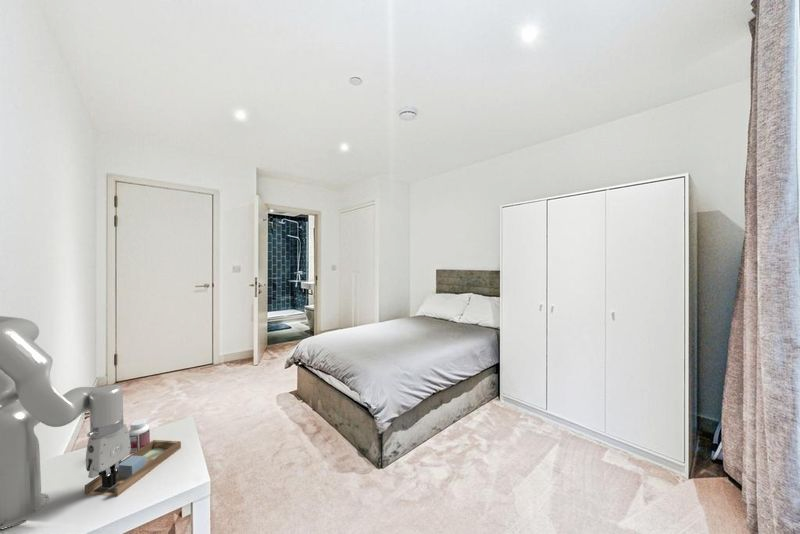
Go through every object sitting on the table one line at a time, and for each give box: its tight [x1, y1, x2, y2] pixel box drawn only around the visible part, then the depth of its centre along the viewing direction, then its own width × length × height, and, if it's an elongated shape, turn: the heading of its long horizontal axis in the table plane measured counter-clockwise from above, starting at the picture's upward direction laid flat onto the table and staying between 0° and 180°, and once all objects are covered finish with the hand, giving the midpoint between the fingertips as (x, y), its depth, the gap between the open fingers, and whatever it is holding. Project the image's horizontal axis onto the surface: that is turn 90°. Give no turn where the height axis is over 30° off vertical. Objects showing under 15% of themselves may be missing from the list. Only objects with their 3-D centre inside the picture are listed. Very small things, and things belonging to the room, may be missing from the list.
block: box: [118, 454, 146, 478], centre depth 105 cm, size 5×5×4 cm
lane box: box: [84, 439, 182, 497], centre depth 107 cm, size 11×24×4 cm, turn 174°
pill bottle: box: [128, 418, 151, 454], centre depth 118 cm, size 6×6×11 cm
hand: (109, 485), depth 97 cm, fingers closed
